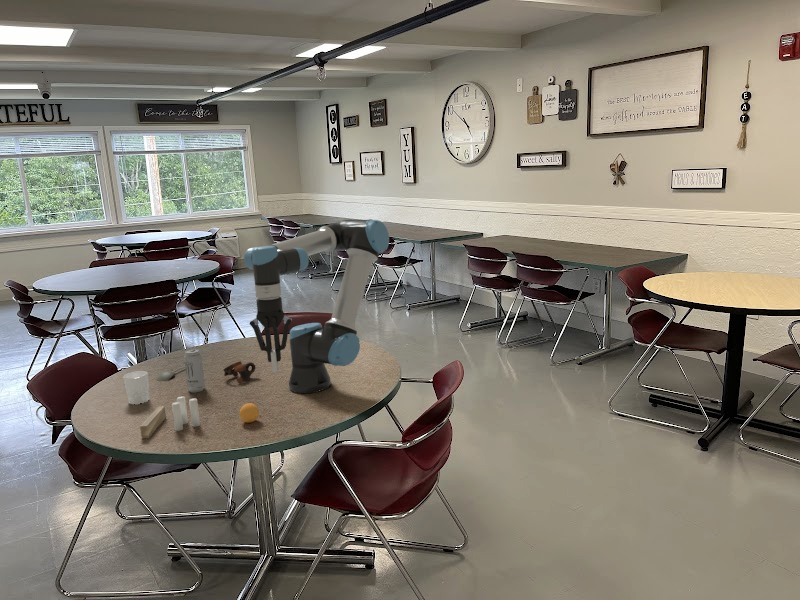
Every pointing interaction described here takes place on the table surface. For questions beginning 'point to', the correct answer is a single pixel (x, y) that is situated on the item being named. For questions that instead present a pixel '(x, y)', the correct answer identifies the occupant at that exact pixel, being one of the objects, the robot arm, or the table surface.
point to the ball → (249, 412)
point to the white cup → (137, 386)
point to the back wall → (153, 422)
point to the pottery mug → (240, 371)
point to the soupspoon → (166, 375)
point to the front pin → (194, 412)
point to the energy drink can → (194, 370)
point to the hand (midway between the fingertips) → (275, 371)
